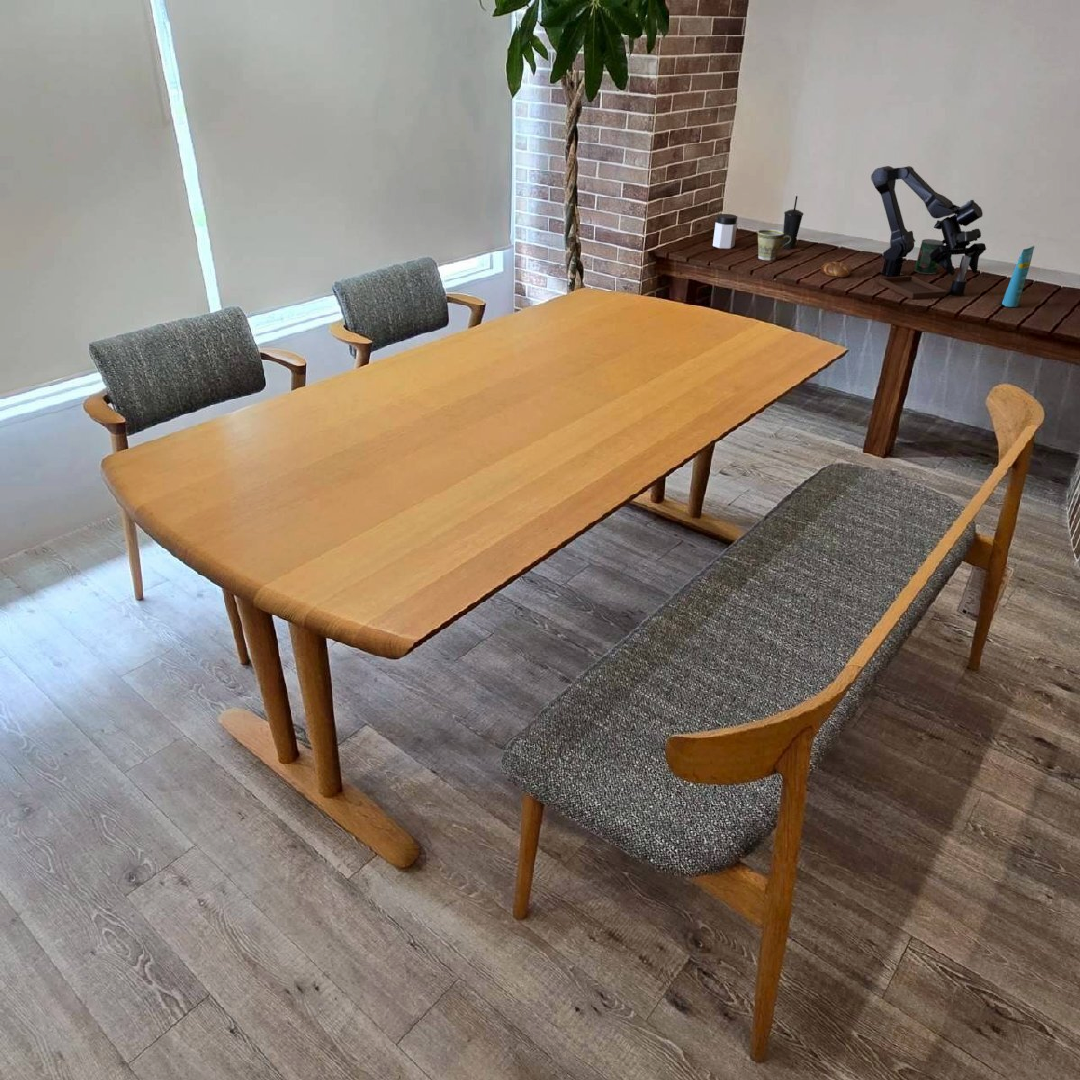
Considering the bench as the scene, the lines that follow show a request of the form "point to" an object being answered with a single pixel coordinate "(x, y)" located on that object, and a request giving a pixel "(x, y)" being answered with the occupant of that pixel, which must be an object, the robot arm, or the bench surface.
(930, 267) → the canned tomato
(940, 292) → the tray
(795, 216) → the drinking cup
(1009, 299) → the tube
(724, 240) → the jar
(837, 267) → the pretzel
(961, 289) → the dark cylinder
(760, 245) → the ceramic cup
